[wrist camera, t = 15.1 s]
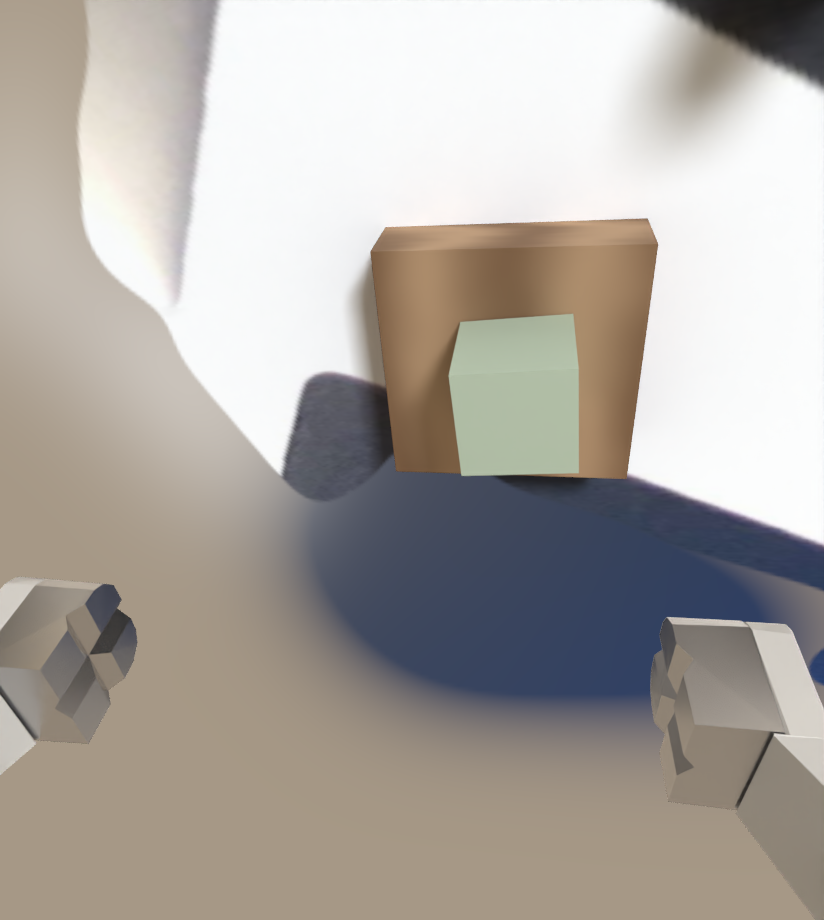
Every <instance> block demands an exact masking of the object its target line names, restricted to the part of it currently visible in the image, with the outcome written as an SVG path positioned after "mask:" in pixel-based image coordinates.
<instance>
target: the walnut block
mask: <svg viewBox="0 0 824 920" xmlns="http://www.w3.org/2000/svg"><path fill="white" fill-rule="evenodd" d="M657 248H658V242H657V240H656V238H655V235H654V233H653V230H652V228H651V226H650V223H649V221H648V219H621V220H591V221H561V222H531V223H501V224H470V225H440V226H410V227H386V228H385V229H384V231H383V232H382V234H381V236H380V237H379V239H378V240H377V242H376V244H375V245H374V247H373V248H372V250H371V261H372V269H373V278H374V286H375V295H376V303H377V312H378V321H379V329H380V338H381V346H382V355H383V363H384V372H385V380H386V389H387V398H388V406H389V415H390V423H391V432H392V440H393V449H394V457H395V465H396V471H402V472H433V473H461V468H460V460H459V453H458V445H457V437H456V430H455V422H454V414H453V407H452V399H451V391H450V384H449V371H450V367H451V362H452V358H453V353H454V349H455V344H456V339H457V335H458V330H459V326H460V322H466V321H480V320H494V319H508V318H521V317H535V316H549V315H563V314H573V316H574V326H575V336H576V347H577V357H578V367H579V473H566V474H524V476H555V477H586V478H617V479H626V478H627V471H628V464H629V456H630V449H631V441H632V434H633V426H634V419H635V412H636V404H637V397H638V389H639V382H640V374H641V367H642V360H643V352H644V345H645V337H646V330H647V323H648V315H649V308H650V300H651V293H652V285H653V278H654V271H655V263H656V256H657Z"/></svg>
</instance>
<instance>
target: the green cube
mask: <svg viewBox="0 0 824 920" xmlns="http://www.w3.org/2000/svg"><path fill="white" fill-rule="evenodd" d="M449 384H450V391H451V399H452V407H453V414H454V422H455V430H456V437H457V445H458V453H459V460H460V468H461V476H482V475H524V474H566V473H579V367H578V357H577V347H576V336H575V326H574V316H573V314H563V315H549V316H535V317H521V318H508V319H494V320H480V321H466V322H460V326H459V330H458V335H457V339H456V344H455V349H454V353H453V358H452V362H451V367H450V371H449Z"/></svg>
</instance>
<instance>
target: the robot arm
mask: <svg viewBox="0 0 824 920" xmlns="http://www.w3.org/2000/svg"><path fill="white" fill-rule="evenodd" d="M120 602H121V598H120V596H119V594H118V592H117V591H116V589H115V587H114V585H109V584H100V583H89V582H78V581H66V580H56V579H43V578H29V577H16V578H14V579H12V580H11V581H9V582H7V583H5V585H4V586H3V587H2V588H1V590H0V775H1V774H2V773H3V772H4V771H5V770H6V769H7V768H9V767H10V766H11V765H12V764H13V763H14V762H16V761H17V760H18V759H19V758H20V757H21V756H23V755H24V754H25V753H26V752H27V751H28V750H30V749H31V748H32V747H33V746H34V745H35V744H36V741H35V740H38V741H39V740H40V741H53V742H67V743H82V744H89V742H90V740H91V738H92V737H93V735H94V733H95V731H96V729H97V728H98V726H99V724H100V722H101V720H102V718H103V717H104V715H105V713H106V711H107V709H108V708H109V706H110V697H109V691H108V690H109V689H111V688H112V687H113V686H115V685H116V684H117V683H119V682H120V681H122V680H123V679H124V678H125V677H126V675H127V673H128V671H129V669H130V667H131V665H132V663H133V661H134V656H135V651H136V647H137V636H136V629H135V627H134V624H133V622H132V620H131V618H129V617H128V616H127V615H125V614H124V613H123V612H121V611H120V610H118V609H117V607H118V606H119V604H120ZM660 639H661V645H662V650H661V651H660V652H658V653H657V654H655V655H654V659H653V664H652V669H651V687H650V691H651V703H652V710H653V716H654V722H655V724H656V725H657V726H658V727H659V728H660V729H661V730H662V731H663V733H664V734H665V736H664V739H663V743H662V747H661V750H660V758H661V764H662V770H663V775H664V780H665V786H666V792H667V797H668V802H675V803H683V804H691V805H699V806H707V807H715V808H723V809H731V810H737V812H736V814H737V816H738V817H739V819H740V820H741V821H742V822H743V824H744V825H745V827H746V828H747V829H748V831H749V832H750V833H751V835H752V836H753V837H754V839H755V840H756V841H757V843H758V844H759V845H760V847H761V848H762V849H763V851H764V852H765V853H766V855H767V856H768V857H769V859H770V860H771V861H772V863H773V864H774V865H775V867H776V868H777V869H778V871H779V872H780V873H781V875H782V876H783V877H784V879H785V880H786V881H787V883H788V884H789V885H790V887H791V888H792V889H793V891H794V892H795V893H796V895H797V896H798V897H799V899H800V900H801V901H802V903H803V904H804V905H805V906H806V908H807V909H808V911H809V912H810V913H811V915H812V916H813V917H814V919H815V920H824V709H823V706H822V704H821V701H820V699H819V696H818V694H817V691H816V689H815V686H814V684H813V681H812V679H811V676H810V674H809V671H808V669H807V667H806V664H805V662H804V659H803V657H802V654H801V652H800V649H799V647H798V644H797V642H796V639H795V637H794V634H793V632H792V631H791V629H790V628H789V627H788V626H787V625H786V624H773V623H756V622H742V621H733V620H713V619H692V618H672V617H671V618H670V617H668V618H666V619H665V620H664V622H663V624H662V628H661V631H660Z"/></svg>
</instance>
